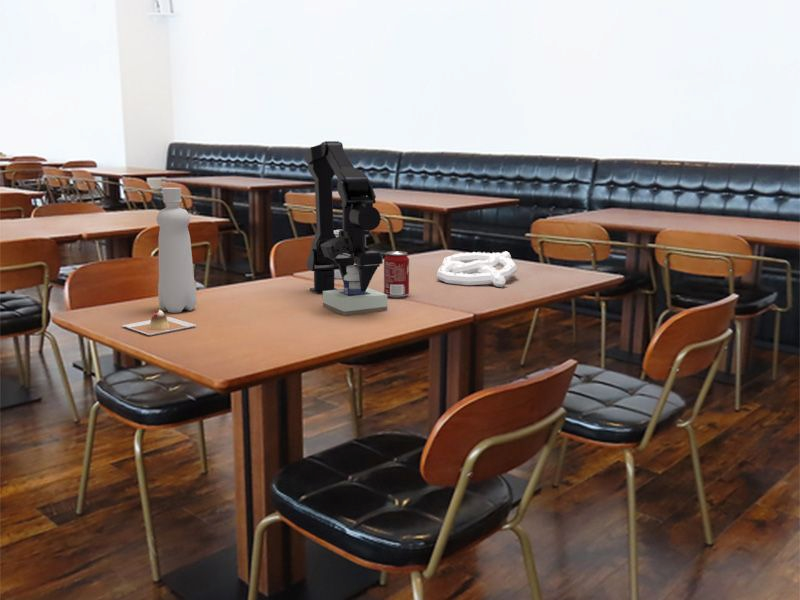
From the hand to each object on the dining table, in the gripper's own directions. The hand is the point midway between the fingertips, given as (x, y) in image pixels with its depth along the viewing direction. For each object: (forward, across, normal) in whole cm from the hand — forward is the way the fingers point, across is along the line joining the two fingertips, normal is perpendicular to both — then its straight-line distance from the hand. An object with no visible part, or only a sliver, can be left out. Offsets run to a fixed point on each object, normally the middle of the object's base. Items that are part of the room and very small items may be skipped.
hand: (354, 288), depth 194 cm
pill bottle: (+4, 0, 0) cm, 4 cm away
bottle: (+5, -20, -39) cm, 44 cm away
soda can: (+5, -8, +17) cm, 20 cm away
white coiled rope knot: (+6, -19, +53) cm, 56 cm away
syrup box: (+5, -41, +17) cm, 45 cm away
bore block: (+5, 0, 0) cm, 5 cm away
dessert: (+6, -4, -48) cm, 48 cm away
